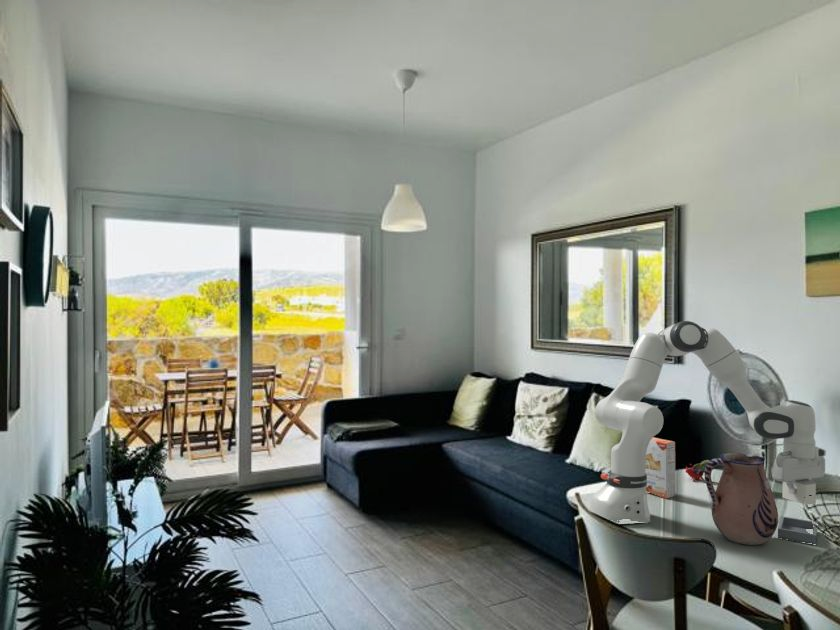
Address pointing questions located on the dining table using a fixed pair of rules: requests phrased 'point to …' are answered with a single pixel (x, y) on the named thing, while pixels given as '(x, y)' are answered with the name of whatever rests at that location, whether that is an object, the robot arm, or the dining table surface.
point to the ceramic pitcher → (742, 499)
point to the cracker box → (660, 467)
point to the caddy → (801, 492)
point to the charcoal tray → (796, 530)
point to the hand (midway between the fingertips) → (798, 492)
